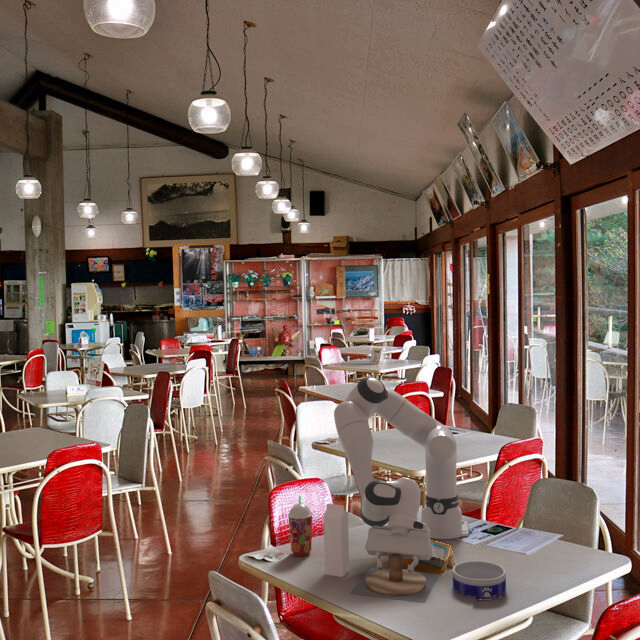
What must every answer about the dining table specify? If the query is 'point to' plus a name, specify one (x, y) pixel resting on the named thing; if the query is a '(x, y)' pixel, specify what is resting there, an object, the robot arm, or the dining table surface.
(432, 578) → the mat
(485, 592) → the dog bowl
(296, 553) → the smoothie
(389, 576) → the lid
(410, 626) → the dining table surface
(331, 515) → the milk
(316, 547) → the dining table surface
